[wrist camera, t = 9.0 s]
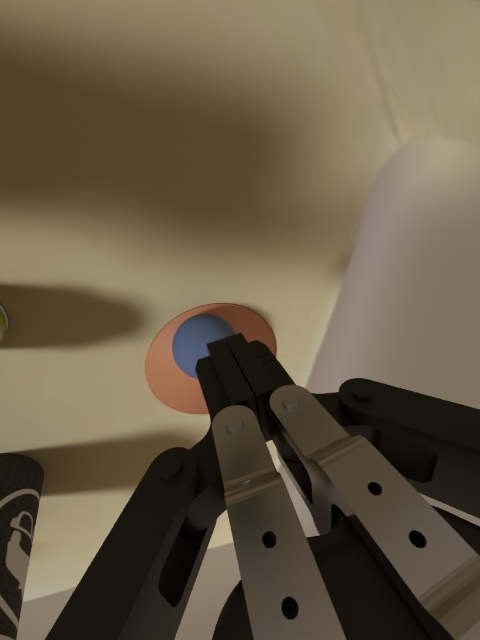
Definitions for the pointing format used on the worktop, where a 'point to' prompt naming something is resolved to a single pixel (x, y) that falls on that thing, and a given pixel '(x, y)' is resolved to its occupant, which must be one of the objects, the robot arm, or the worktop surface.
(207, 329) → the ball
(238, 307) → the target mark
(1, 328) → the supplement bottle
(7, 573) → the coffee cup
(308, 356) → the worktop surface
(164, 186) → the worktop surface
